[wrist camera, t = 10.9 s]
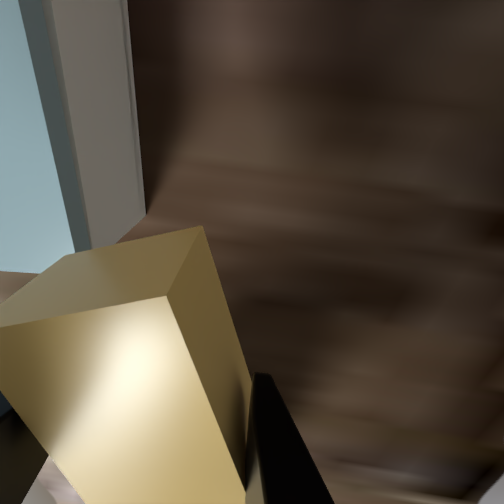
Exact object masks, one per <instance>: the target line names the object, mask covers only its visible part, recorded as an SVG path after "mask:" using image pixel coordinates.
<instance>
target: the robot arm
mask: <svg viewBox="0 0 504 504" xmlns="http://www.w3.org/2000/svg"><path fill="white" fill-rule="evenodd" d="M47 457H48V453H47V452H46V451H45V449H44V448H43V447H42V445H41V444H40V443H39V441H38V440H37V439H36V437H35V436H34V435H33V433H32V432H31V431H30V429H29V428H28V427H27V425H26V424H25V423H24V421H23V420H22V419H21V417H20V416H19V415H18V413H17V412H16V411H15V409H14V408H13V407H12V405H11V404H10V403H9V402H8V400H7V399H6V398H5V396H4V395H3V394H2V392H1V391H0V504H21V503H22V502H23V500H24V498H25V496H26V494H27V493H28V491H29V489H30V487H31V486H32V484H33V482H34V480H35V479H36V477H37V475H38V473H39V472H40V470H41V468H42V466H43V465H44V463H45V461H46V459H47ZM245 484H246V496H245V504H335V503H334V501H333V499H332V497H331V495H330V493H329V491H328V489H327V487H326V485H325V483H324V481H323V479H322V477H321V475H320V473H319V471H318V469H317V467H316V465H315V463H314V461H313V459H312V457H311V455H310V453H309V451H308V449H307V447H306V445H305V443H304V441H303V439H302V437H301V435H300V433H299V431H298V429H297V427H296V425H295V423H294V421H293V419H292V417H291V415H290V413H289V411H288V409H287V407H286V405H285V403H284V401H283V399H282V397H281V395H280V393H279V391H278V389H277V387H276V385H275V383H274V381H273V379H272V377H271V375H270V374H268V373H258V372H255V373H254V374H253V378H252V386H251V394H250V404H249V417H248V430H247V444H246V459H245Z"/></svg>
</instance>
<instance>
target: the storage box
mask: <svg viewBox="0 0 504 504" xmlns="http://www.w3.org/2000/svg"><path fill="white" fill-rule="evenodd" d="M41 2H42V7H43V12H44V17H45V22H46V27H47V32H48V37H49V42H50V47H51V52H52V57H53V62H54V67H55V72H56V77H57V82H58V87H59V92H60V97H61V102H62V107H63V112H64V117H65V122H66V127H67V132H68V137H69V142H70V147H71V152H72V157H73V162H74V167H75V172H76V177H77V182H78V187H79V192H80V197H81V202H82V207H83V212H84V217H85V222H86V227H87V232H88V237H89V242H90V247H91V249H96V248H100V247H105V246H110V245H114V244H115V243H116V242H117V241H118V240H119V239H121V238H122V237H123V236H124V235H125V234H126V233H127V232H128V231H129V230H131V229H132V228H133V227H134V226H135V225H136V224H137V223H138V222H139V221H141V220H142V219H143V218H144V217H145V216H146V210H145V198H144V187H143V176H142V164H141V153H140V142H139V130H138V119H137V108H136V96H135V85H134V73H133V62H132V51H131V39H130V28H129V17H128V5H127V0H41Z"/></svg>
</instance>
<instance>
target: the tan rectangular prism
mask: <svg viewBox="0 0 504 504" xmlns="http://www.w3.org/2000/svg"><path fill="white" fill-rule="evenodd" d="M251 386H252V381H251V378H250V375H249V371H248V368H247V365H246V362H245V359H244V356H243V353H242V349H241V346H240V343H239V340H238V337H237V334H236V330H235V327H234V324H233V321H232V318H231V315H230V312H229V308H228V305H227V302H226V299H225V296H224V293H223V289H222V286H221V283H220V280H219V277H218V274H217V271H216V267H215V264H214V261H213V258H212V255H211V252H210V249H209V245H208V242H207V239H206V236H205V233H204V230H203V226H197V227H192V228H188V229H183V230H179V231H174V232H169V233H165V234H160V235H156V236H151V237H146V238H142V239H137V240H133V241H128V242H123V243H119V244H114V245H110V246H105V247H100V248H96V249H91V250H87V251H82V252H77V253H73V254H68V255H65V256H63V257H62V258H61V259H59V260H58V261H57V262H55V263H54V264H53V265H51V266H50V267H49V268H47V269H46V270H45V271H43V272H42V273H41V274H39V275H38V276H37V277H35V278H34V279H33V280H31V281H30V282H29V283H27V284H26V285H25V286H23V287H22V288H21V289H20V290H18V291H17V292H16V293H14V294H13V295H12V296H10V297H9V298H8V299H6V300H5V301H4V302H2V303H1V304H0V391H1V392H2V394H3V395H4V396H5V398H6V399H7V400H8V402H9V403H10V404H11V405H12V407H13V408H14V409H15V411H16V412H17V413H18V415H19V416H20V417H21V419H22V420H23V421H24V423H25V424H26V425H27V427H28V428H29V429H30V431H31V432H32V433H33V435H34V436H35V437H36V439H37V440H38V441H39V443H40V444H41V445H42V447H43V448H44V449H45V451H46V452H47V453H48V455H49V456H50V457H51V459H52V460H53V461H54V463H55V464H56V465H57V467H58V468H59V469H60V470H61V472H62V473H63V474H64V476H65V477H66V478H67V480H68V481H69V482H70V484H71V485H72V486H73V488H74V489H75V490H76V492H77V493H78V494H79V496H80V497H81V498H82V500H83V501H84V502H85V504H245V496H246V484H245V459H246V444H247V430H248V417H249V404H250V394H251Z"/></svg>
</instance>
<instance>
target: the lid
mask: <svg viewBox="0 0 504 504" xmlns="http://www.w3.org/2000/svg"><path fill="white" fill-rule="evenodd" d="M87 250H91V247H90V242H89V237H88V232H87V227H86V222H85V217H84V212H83V207H82V202H81V197H80V192H79V187H78V182H77V177H76V172H75V167H74V162H73V157H72V152H71V147H70V142H69V137H68V132H67V127H66V122H65V117H64V112H63V107H62V102H61V97H60V92H59V87H58V82H57V77H56V72H55V67H54V62H53V57H52V52H51V47H50V42H49V37H48V32H47V27H46V22H45V17H44V12H43V7H42V2H41V0H0V271H11V272H26V273H42V272H43V271H45V270H46V269H47V268H49V267H50V266H51V265H53V264H54V263H55V262H57V261H58V260H59V259H61V258H62V257H63V256H65V255H68V254H73V253H77V252H82V251H87Z"/></svg>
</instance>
